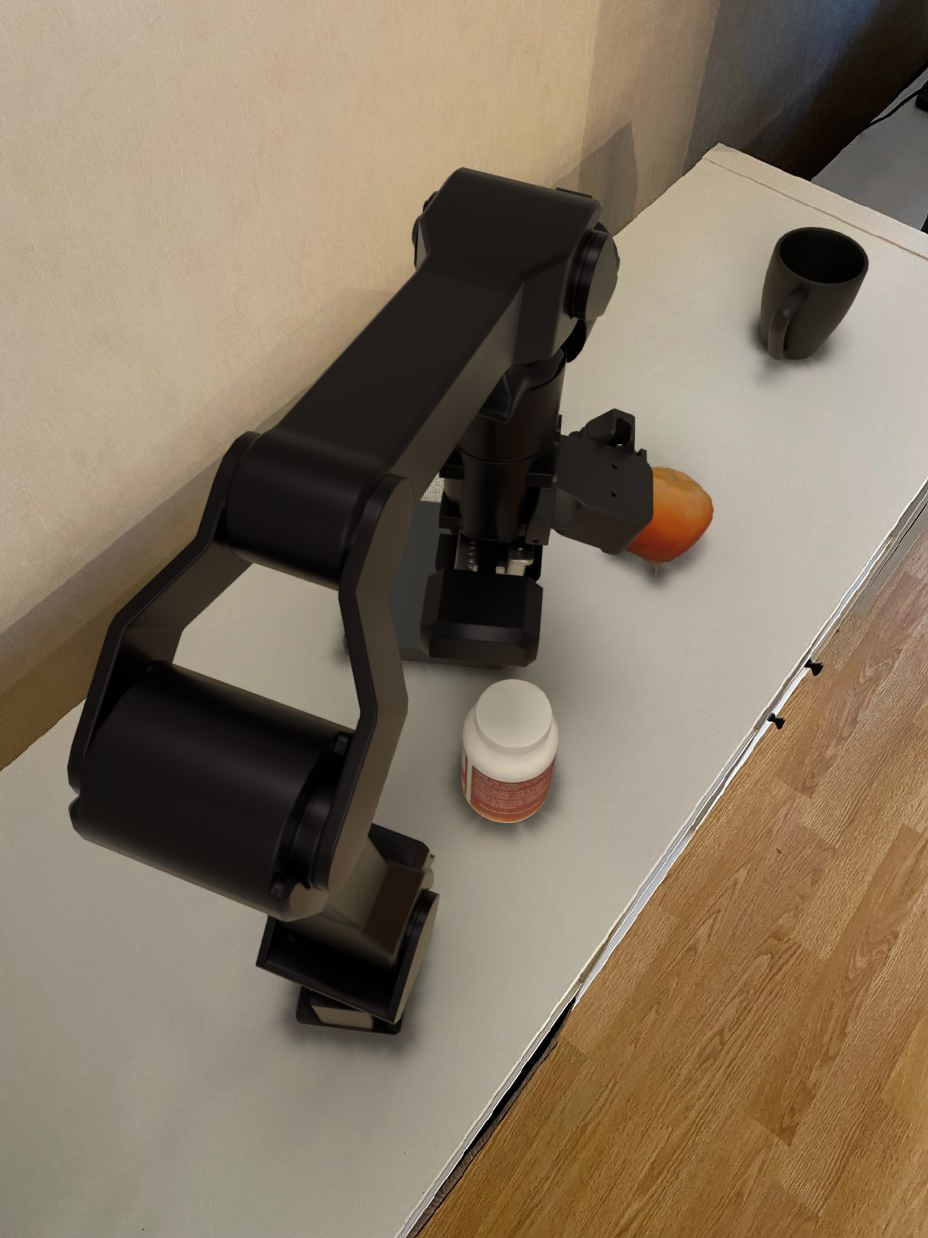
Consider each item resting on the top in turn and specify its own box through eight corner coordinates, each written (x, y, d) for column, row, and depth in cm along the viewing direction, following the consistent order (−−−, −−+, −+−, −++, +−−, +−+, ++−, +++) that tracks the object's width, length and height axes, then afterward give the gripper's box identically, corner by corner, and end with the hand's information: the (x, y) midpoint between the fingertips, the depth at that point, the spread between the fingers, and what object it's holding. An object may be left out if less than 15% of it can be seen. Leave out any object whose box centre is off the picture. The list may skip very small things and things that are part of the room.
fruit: (579, 559, 76) (612, 466, 73) (605, 531, 83) (637, 445, 79) (674, 600, 74) (714, 507, 71) (694, 567, 81) (730, 481, 77)
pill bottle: (566, 796, 67) (586, 726, 58) (493, 842, 65) (502, 778, 56) (515, 728, 70) (526, 650, 61) (443, 771, 68) (444, 698, 59)
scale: (506, 675, 72) (509, 651, 69) (344, 657, 73) (339, 633, 70) (522, 525, 80) (525, 497, 77) (375, 509, 81) (372, 482, 78)
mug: (712, 368, 90) (738, 284, 82) (769, 299, 96) (799, 214, 88) (792, 406, 88) (827, 323, 80) (846, 333, 93) (884, 249, 85)
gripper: (662, 587, 43) (609, 740, 56) (659, 312, 53) (616, 496, 66) (415, 563, 44) (420, 720, 57) (459, 294, 54) (455, 481, 67)
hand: (487, 595), depth 62 cm, fingers closed
